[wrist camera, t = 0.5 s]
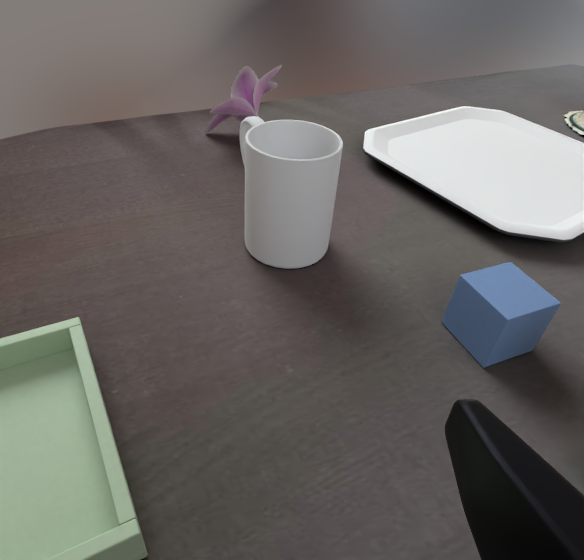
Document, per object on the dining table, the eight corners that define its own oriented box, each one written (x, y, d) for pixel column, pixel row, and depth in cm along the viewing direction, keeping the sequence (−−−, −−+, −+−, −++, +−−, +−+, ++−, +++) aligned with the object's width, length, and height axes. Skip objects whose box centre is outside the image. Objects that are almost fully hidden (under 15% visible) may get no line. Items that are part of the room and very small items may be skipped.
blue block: (533, 350, 36) (561, 303, 33) (483, 368, 35) (508, 319, 31) (488, 308, 40) (510, 261, 37) (441, 322, 38) (459, 274, 35)
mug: (344, 254, 44) (363, 148, 37) (272, 280, 40) (279, 168, 34) (276, 195, 52) (281, 98, 45) (210, 213, 48) (205, 110, 41)
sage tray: (148, 556, 24) (140, 533, 22) (-112, 686, 19) (-148, 670, 17) (87, 344, 34) (78, 316, 32) (-92, 397, 29) (-113, 369, 28)
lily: (289, 127, 69) (262, 60, 65) (320, 126, 58) (291, 45, 54) (215, 162, 67) (183, 95, 63) (234, 168, 56) (197, 87, 52)
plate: (337, 150, 61) (340, 134, 60) (475, 114, 75) (480, 100, 74) (535, 271, 44) (545, 252, 43) (666, 195, 58) (677, 179, 57)
